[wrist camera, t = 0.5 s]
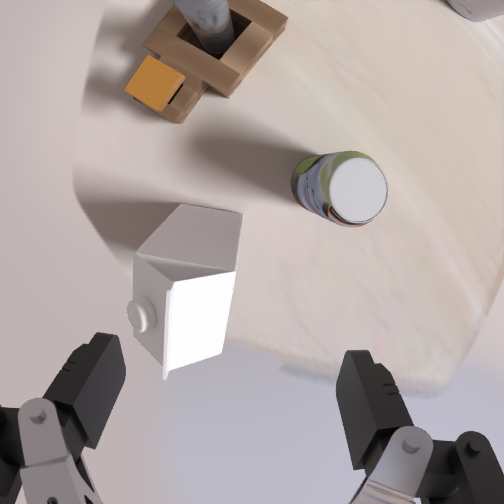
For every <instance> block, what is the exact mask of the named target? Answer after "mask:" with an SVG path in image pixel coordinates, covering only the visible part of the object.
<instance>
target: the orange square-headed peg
mask: <svg viewBox="0 0 504 504" xmlns="http://www.w3.org/2000/svg"><path fill="white" fill-rule="evenodd" d="M185 78H186V77H185V76H184V75H183V74H181V73H179V72H178V71H176V70H174V69H173V68H171V67H169V66H167V65H166V64H164V63H162V62H160V61H159V60H157V59H155V58H153V57H151V56H150V55H147V57H146V58H145V59H144V61H143V62H142V64H141V65H140V67H139V68H138V70H137V71H136V72H135V74H134V75H133V77H132V78H131V80H130V81H129V83H128V85H127V86H126V88H125V89H124V91H126V92H127V93H129V94H131V95H132V96H134V97H136V98H137V99H139V100H141V101H142V102H144V103H145V104H147V105H149V106H150V107H152V108H153V109H155V110H157V111H163V109H164V108H165V106H166V105H167V103H168V102H169V100H172V98H173V97H174V95H175V94H176V93H177V91H178V90H179V88H180V85H181V83H182V82H183V81H184V79H185Z"/></svg>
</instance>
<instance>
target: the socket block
mask: <svg viewBox="0 0 504 504" xmlns="http://www.w3.org/2000/svg"><path fill="white" fill-rule="evenodd" d="M227 1H228V6H229V10H230V15H231V19H232V21H233V22H235V23H236V24H238V25H240V26H242V27H243V28H245V30H244V31H243V33H242V34H241V35H240V36H239V37H238V38H237V40H236V41H235V42H234V43H233V44H232V46H231V47H230V48H229V49H228V50H227V52H226V53H225V54H224V55H223V57H222V58H221V59H220V60H217V59H215V58H214V57H212V56H210V55H209V54H207V53H205V52H204V51H202V50H200V49H198V48H197V47H195V46H193V45H191V44H190V43H188V41H189V39H190V38H191V37H192V36H193V34H194V31H193V30H192V28H191V27H190V25H189V24H188V22H187V21H186V19H185V18H184V16H183V15H182V13H181V11H180V10H179V8H178V7H177V6H176V4H175V5H174V6H173V7H172V9H171V10H170V11H169V12H168V13H167V15H166V16H165V17H164V18H163V19H162V21H161V22H160V23H159V24H158V26H157V27H156V28H155V30H154V31H153V32H152V33H151V35H150V36H149V37H148V39H147V40H146V41H145V43H144V44H143V46H144V47H146V48H147V49H149V50H150V51H151V52H153V53H154V54H156V55H158V56H159V57H160V59H159V61H160V62H162V63H164V64H166V65H167V66H169V67H171V68H173V69H174V70H176V71H178V72H179V73H181V74H183V75H184V76H185V77H186V78H185V79H184V81H183V82H182V84H184V85H183V86H182V88H181V89H180V90H179V92H178V93H177V95H176V96H175V98H174V99H173V100H172V102H168V103H167V105H166V106H165V108H164V109H163V111H157V110H155V109H153V108H152V107H150V106H149V105H147V104H145V103H144V102H142V101H141V100H139V99H137V98H136V97H133V98H134V99H135V100H137V101H139V102H140V103H142V104H143V105H145V106H147V107H148V108H150V109H151V110H153V111H155V112H156V113H158V114H159V115H161V116H162V117H164V118H166V119H167V120H169V121H170V122H172V123H178V124H182V123H183V122H184V120H185V119H186V117H187V116H188V114H189V113H190V111H191V110H192V109H193V107H194V106H195V104H196V103H197V102H198V100H199V99H200V97H201V96H202V95H203V93H204V92H205V91H206V89H207V88H208V87H209V86H210V87H212V88H213V89H215V90H216V91H218V92H219V93H221V94H222V95H224V96H226V97H227V98H229V97H230V95H231V94H232V93H233V92H234V90H235V89H236V88H237V86H238V85H239V84H240V83H241V81H242V80H243V79H244V77H245V76H246V75H247V74H248V72H249V71H250V70H251V69H252V67H253V66H254V65H255V64H256V63H257V61H258V60H259V59H260V58H261V56H262V55H263V54H264V53H265V52H266V50H267V49H268V48H269V47H270V46H271V45H272V43H273V42H274V41H275V40H276V39H277V38H278V36H279V35H280V34H281V33H282V32H283V31H284V30H285V26H286V23H287V20H288V17H286V16H285V15H283V14H282V13H280V12H278V11H277V10H275V9H273V8H272V7H270V6H268V5H267V4H265V3H263V2H261V1H260V0H227Z"/></svg>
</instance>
